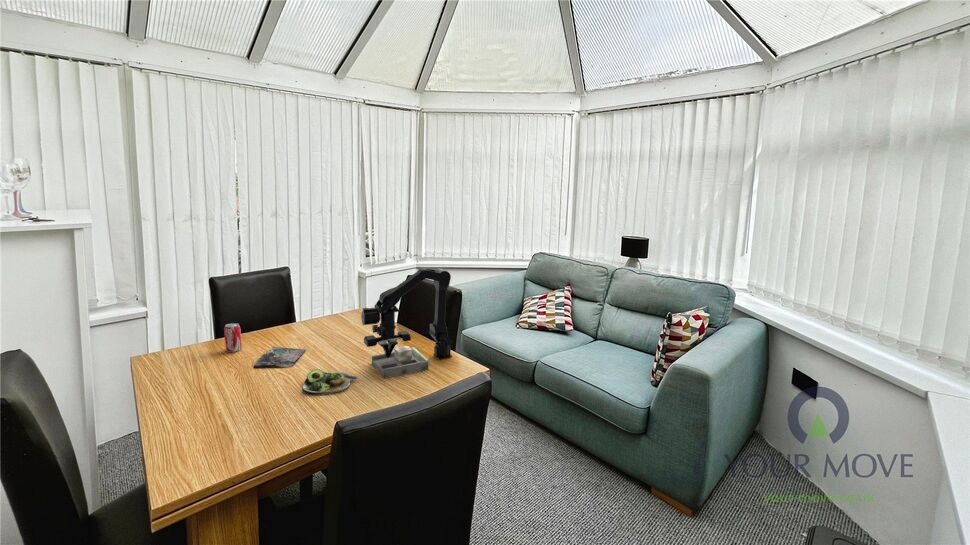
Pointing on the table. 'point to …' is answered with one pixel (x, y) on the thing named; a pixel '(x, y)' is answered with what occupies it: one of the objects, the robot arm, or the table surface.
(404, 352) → the cream block
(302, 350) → the terrain model
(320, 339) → the table surface
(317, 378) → the salad plate
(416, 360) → the box
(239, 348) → the soda can
